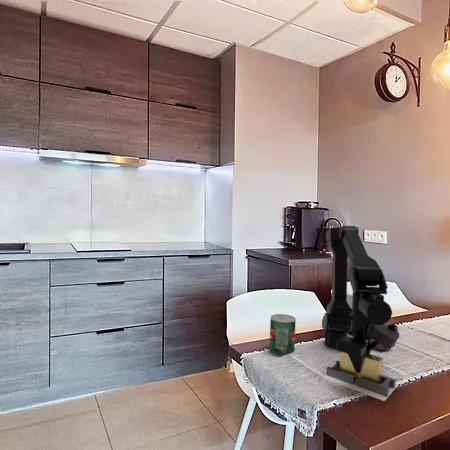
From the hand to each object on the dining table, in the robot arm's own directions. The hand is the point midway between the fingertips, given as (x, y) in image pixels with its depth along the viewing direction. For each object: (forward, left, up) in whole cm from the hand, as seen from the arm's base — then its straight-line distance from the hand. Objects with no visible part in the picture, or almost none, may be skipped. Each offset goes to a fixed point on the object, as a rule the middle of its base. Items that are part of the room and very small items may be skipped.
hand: (360, 370), depth 94 cm
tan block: (0, 0, -2) cm, 2 cm away
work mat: (0, 0, -4) cm, 4 cm away
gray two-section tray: (0, 0, -3) cm, 3 cm away
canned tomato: (-26, +3, -4) cm, 26 cm away
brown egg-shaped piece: (-5, +29, -4) cm, 30 cm away
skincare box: (-16, +35, -4) cm, 39 cm away
